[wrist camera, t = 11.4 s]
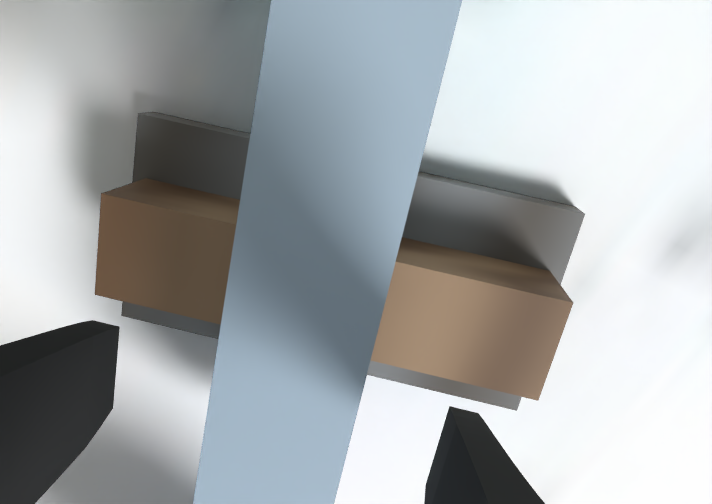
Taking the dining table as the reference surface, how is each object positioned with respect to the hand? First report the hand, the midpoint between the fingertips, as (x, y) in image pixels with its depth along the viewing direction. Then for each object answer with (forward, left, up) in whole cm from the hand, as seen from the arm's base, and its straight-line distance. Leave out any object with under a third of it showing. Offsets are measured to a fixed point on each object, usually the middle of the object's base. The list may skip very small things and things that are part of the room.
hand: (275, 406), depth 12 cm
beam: (0, 0, -6) cm, 6 cm away
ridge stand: (0, 0, -10) cm, 10 cm away
